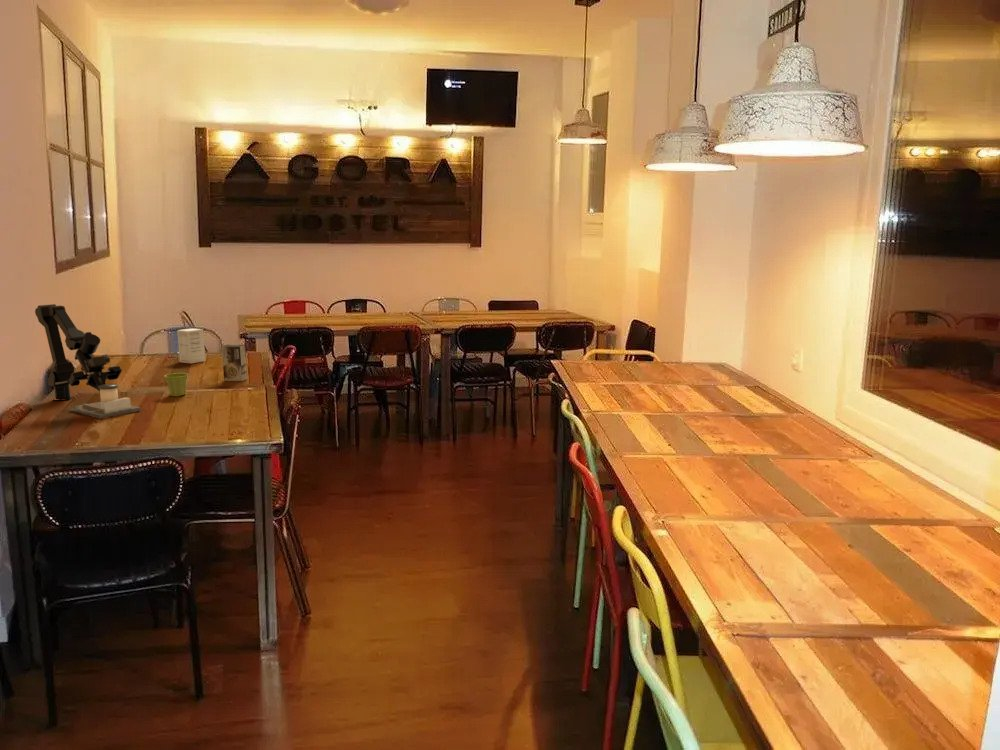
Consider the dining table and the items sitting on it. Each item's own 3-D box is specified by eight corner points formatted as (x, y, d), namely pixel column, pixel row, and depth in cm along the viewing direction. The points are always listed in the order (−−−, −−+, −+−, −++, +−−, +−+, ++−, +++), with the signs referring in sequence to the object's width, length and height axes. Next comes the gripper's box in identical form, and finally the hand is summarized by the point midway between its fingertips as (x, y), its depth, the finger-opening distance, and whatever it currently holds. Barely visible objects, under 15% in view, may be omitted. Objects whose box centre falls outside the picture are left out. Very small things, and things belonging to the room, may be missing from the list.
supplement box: (206, 361, 427) (203, 329, 424) (191, 363, 420) (188, 331, 416) (194, 359, 432) (191, 327, 429) (179, 362, 425) (176, 329, 421)
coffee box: (248, 378, 382) (246, 344, 378) (242, 381, 375) (240, 346, 372) (229, 378, 382) (227, 344, 379) (223, 381, 376) (221, 346, 373)
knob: (97, 408, 315) (94, 385, 313) (114, 405, 320) (112, 382, 319) (106, 410, 311) (104, 388, 309) (123, 407, 316) (121, 385, 315)
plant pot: (164, 398, 341) (163, 377, 339) (167, 393, 350) (165, 373, 348) (188, 396, 343) (187, 376, 342) (190, 392, 352) (189, 372, 351)
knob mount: (71, 410, 318) (69, 397, 317) (111, 403, 331) (109, 390, 330) (99, 419, 305) (98, 404, 304) (140, 411, 318) (139, 397, 317)
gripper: (69, 351, 309) (86, 384, 305) (117, 345, 324) (134, 376, 319) (61, 369, 315) (78, 401, 311) (108, 362, 330) (125, 393, 325)
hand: (104, 392), depth 316 cm, fingers closed, pressing on knob
